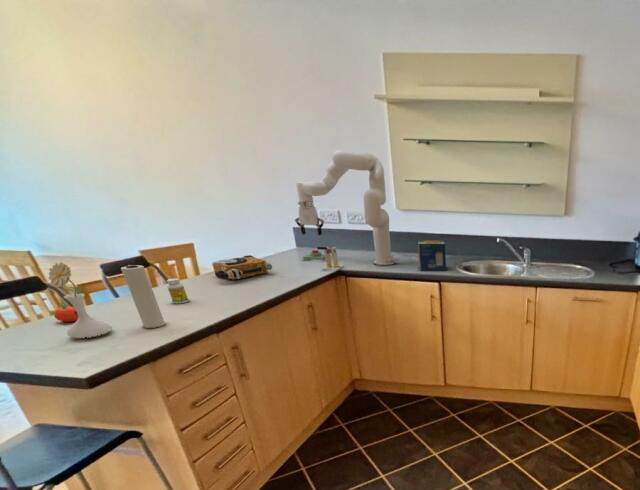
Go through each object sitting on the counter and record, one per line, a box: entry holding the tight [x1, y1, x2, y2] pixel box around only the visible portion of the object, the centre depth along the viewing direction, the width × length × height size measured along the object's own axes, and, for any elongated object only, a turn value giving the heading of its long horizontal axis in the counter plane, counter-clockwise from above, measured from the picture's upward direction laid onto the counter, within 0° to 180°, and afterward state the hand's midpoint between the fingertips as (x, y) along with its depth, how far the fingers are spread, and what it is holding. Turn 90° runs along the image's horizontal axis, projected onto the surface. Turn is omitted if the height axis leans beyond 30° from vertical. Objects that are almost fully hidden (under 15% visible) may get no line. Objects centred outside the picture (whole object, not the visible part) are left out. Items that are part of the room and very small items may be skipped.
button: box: [311, 249, 320, 253], centre depth 259 cm, size 4×4×2 cm
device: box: [211, 254, 273, 280], centre depth 216 cm, size 23×8×30 cm
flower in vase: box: [48, 261, 113, 339], centre depth 136 cm, size 13×11×25 cm
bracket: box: [322, 246, 344, 270], centre depth 237 cm, size 10×8×12 cm
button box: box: [302, 251, 326, 262], centre depth 260 cm, size 12×10×4 cm
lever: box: [316, 246, 332, 255], centre depth 231 cm, size 12×5×2 cm, turn 179°
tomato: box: [53, 303, 78, 323], centre depth 152 cm, size 7×8×6 cm
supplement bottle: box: [166, 277, 189, 304], centre depth 175 cm, size 5×5×10 cm
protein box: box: [417, 240, 447, 272], centre depth 245 cm, size 10×15×16 cm
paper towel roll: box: [120, 264, 165, 329], centre depth 147 cm, size 7×6×21 cm
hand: (312, 234), depth 253 cm, fingers open, 9 cm apart
